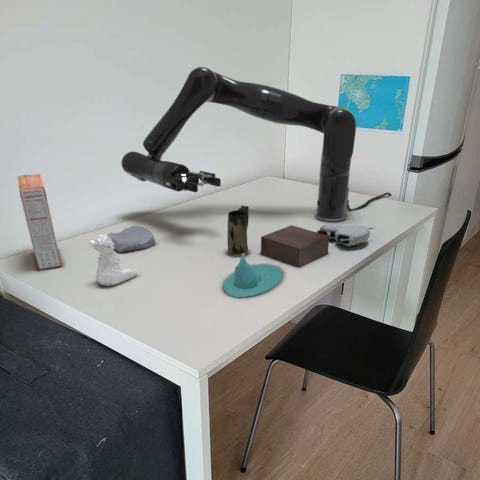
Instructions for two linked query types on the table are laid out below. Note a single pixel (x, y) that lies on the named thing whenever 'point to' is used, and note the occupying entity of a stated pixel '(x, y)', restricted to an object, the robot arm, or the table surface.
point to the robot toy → (346, 233)
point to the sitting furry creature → (109, 263)
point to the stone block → (132, 238)
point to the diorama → (251, 279)
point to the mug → (238, 231)
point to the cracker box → (39, 221)
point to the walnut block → (294, 245)
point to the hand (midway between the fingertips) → (208, 185)
